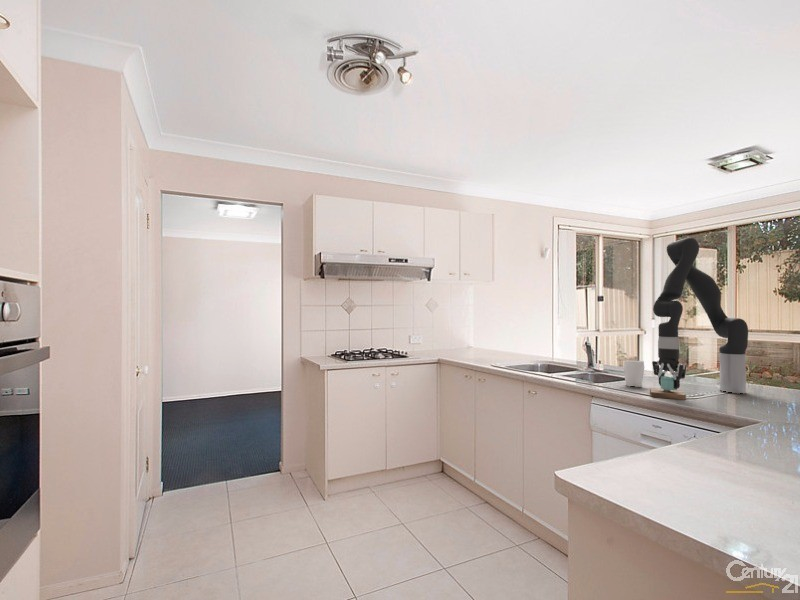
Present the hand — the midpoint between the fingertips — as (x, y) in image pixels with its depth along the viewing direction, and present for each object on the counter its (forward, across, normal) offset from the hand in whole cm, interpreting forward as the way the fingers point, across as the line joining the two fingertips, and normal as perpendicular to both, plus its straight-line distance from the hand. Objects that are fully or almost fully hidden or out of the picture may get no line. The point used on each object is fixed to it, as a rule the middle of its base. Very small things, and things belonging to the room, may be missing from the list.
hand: (669, 386), depth 177 cm
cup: (+4, -24, +7) cm, 25 cm away
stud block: (+4, -1, 0) cm, 4 cm away
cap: (+1, 0, 0) cm, 1 cm away
